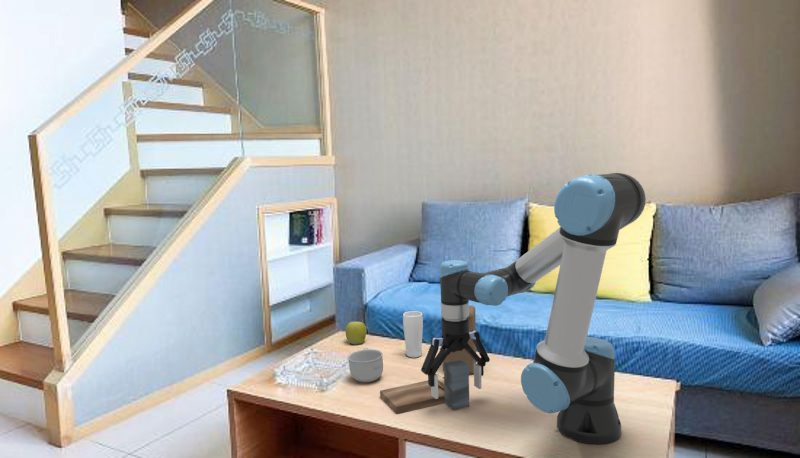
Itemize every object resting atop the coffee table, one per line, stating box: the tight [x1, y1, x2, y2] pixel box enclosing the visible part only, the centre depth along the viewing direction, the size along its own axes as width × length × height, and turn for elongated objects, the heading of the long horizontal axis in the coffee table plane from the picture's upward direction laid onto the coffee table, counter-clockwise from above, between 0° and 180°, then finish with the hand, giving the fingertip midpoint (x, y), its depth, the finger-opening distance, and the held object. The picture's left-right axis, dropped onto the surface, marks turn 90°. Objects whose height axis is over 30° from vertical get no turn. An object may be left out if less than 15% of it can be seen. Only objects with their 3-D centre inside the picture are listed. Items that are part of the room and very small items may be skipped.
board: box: [379, 376, 445, 415], centre depth 161 cm, size 12×22×2 cm, turn 114°
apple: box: [345, 317, 367, 345], centre depth 210 cm, size 8×8×10 cm
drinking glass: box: [402, 310, 424, 359], centre depth 194 cm, size 7×7×15 cm
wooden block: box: [441, 305, 477, 375], centre depth 180 cm, size 10×10×20 cm
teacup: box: [347, 347, 384, 384], centre depth 177 cm, size 14×11×8 cm
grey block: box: [436, 359, 470, 411], centre depth 159 cm, size 16×5×12 cm, turn 24°
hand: (456, 392), depth 155 cm, fingers open, 13 cm apart
